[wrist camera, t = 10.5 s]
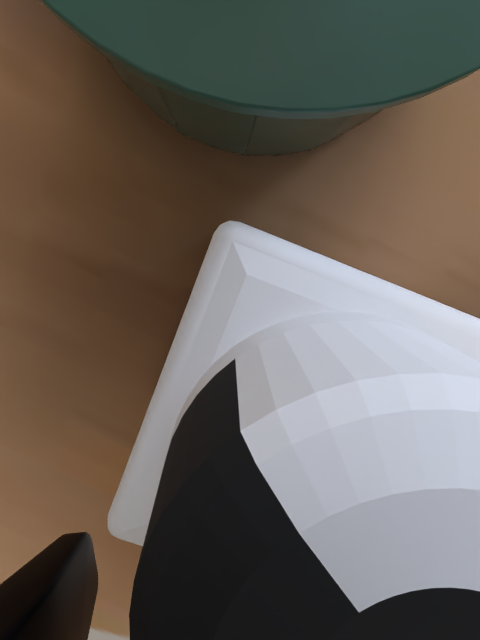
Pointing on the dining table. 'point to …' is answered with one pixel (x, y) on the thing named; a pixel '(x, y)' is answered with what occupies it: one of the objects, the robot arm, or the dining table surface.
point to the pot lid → (285, 50)
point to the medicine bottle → (306, 458)
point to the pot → (238, 122)
